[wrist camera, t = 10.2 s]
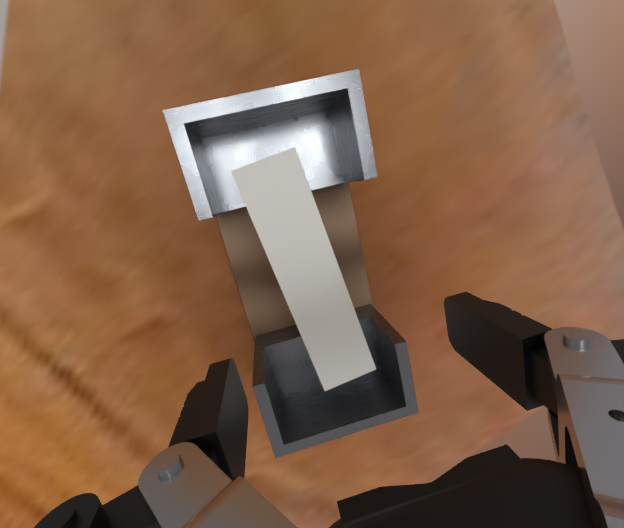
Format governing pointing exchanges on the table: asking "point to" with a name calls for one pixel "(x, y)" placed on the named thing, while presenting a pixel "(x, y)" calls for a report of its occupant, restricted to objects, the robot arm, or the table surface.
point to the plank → (258, 271)
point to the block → (305, 265)
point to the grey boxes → (320, 173)
